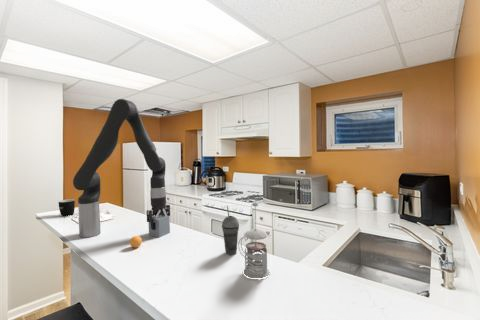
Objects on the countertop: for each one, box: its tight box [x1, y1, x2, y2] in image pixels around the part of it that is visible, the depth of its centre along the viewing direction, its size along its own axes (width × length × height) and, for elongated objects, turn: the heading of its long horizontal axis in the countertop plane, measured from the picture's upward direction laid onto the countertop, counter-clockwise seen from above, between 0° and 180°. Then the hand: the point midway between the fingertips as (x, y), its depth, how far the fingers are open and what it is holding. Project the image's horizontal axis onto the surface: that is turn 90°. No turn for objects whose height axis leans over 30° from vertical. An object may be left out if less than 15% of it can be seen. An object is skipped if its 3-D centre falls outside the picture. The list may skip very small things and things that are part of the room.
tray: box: [72, 210, 115, 224], centre depth 158 cm, size 20×28×4 cm
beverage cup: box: [221, 205, 240, 256], centre depth 101 cm, size 7×7×20 cm
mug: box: [58, 198, 76, 217], centre depth 164 cm, size 12×9×10 cm
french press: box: [237, 202, 271, 278], centre depth 85 cm, size 10×12×25 cm
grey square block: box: [148, 215, 171, 238], centre depth 125 cm, size 7×7×9 cm
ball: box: [129, 235, 143, 249], centre depth 109 cm, size 5×5×5 cm
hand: (159, 227), depth 125 cm, fingers closed on grey square block, 7 cm apart
